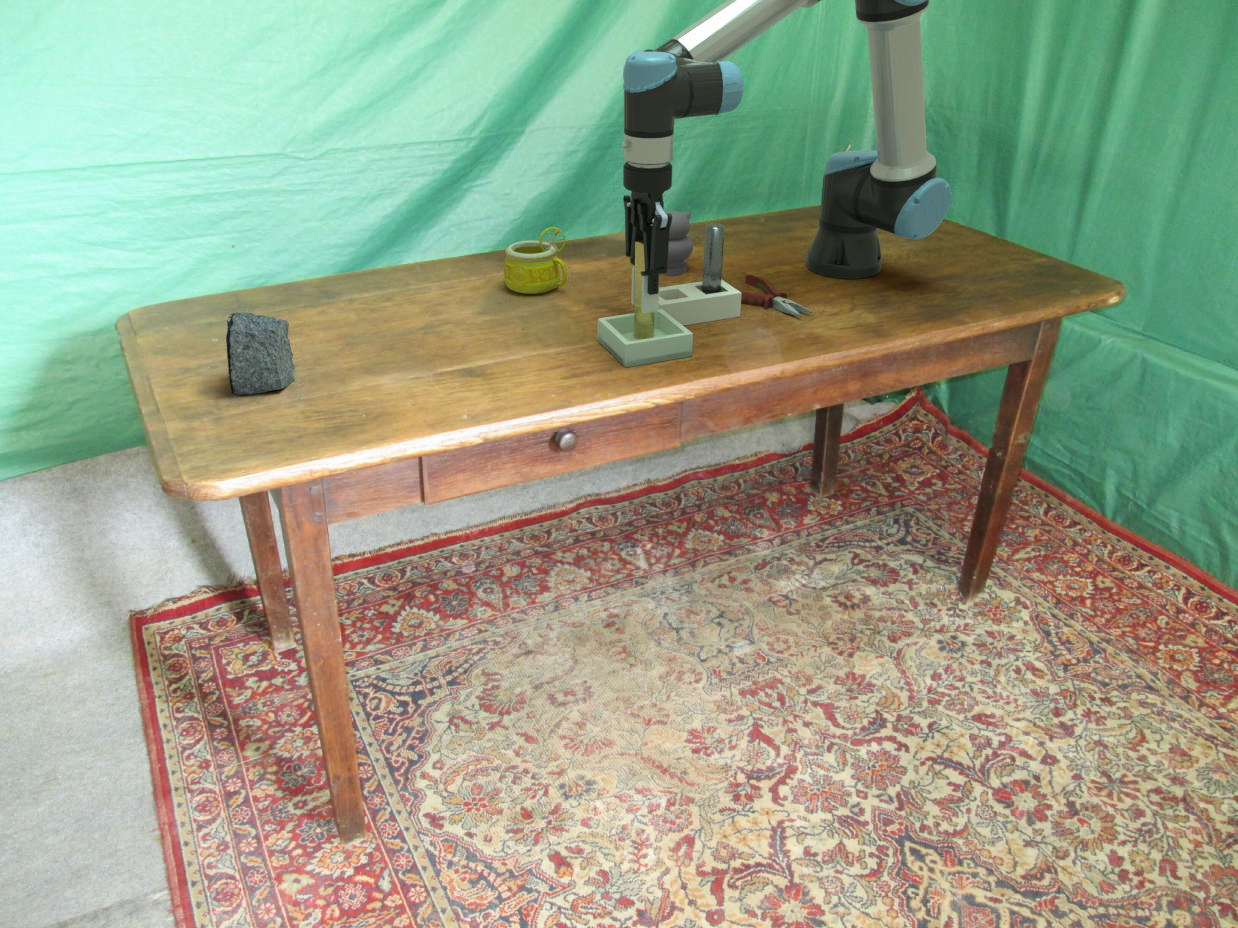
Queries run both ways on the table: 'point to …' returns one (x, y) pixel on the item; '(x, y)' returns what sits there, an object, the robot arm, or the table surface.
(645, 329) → the pin brass
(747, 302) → the pliers
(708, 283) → the pin dark
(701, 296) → the pale green peg holder
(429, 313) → the table surface
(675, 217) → the cat figurine
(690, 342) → the tray
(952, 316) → the table surface
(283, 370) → the stone
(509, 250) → the mug
